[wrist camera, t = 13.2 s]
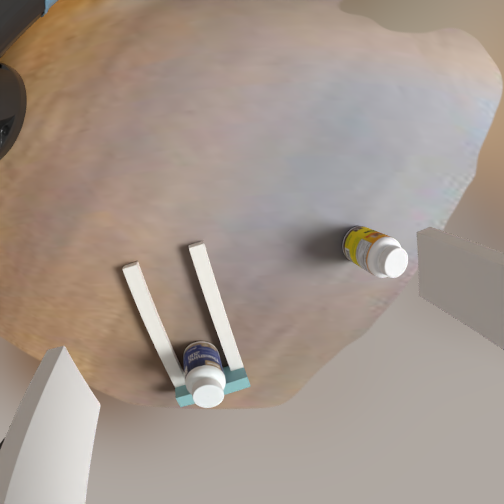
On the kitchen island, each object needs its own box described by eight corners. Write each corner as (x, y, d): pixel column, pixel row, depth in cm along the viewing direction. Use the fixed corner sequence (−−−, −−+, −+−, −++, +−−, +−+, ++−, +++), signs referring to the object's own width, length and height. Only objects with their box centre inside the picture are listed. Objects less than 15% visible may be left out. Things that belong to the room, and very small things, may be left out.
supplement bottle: (376, 231, 47) (418, 249, 38) (363, 264, 48) (402, 288, 39) (348, 219, 46) (390, 235, 36) (334, 254, 47) (372, 278, 37)
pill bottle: (218, 339, 46) (230, 379, 37) (218, 368, 47) (229, 410, 38) (181, 340, 45) (185, 381, 36) (183, 369, 46) (187, 412, 37)
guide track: (124, 265, 40) (119, 276, 36) (203, 240, 41) (206, 248, 38) (179, 390, 47) (180, 407, 43) (244, 371, 49) (250, 386, 45)
